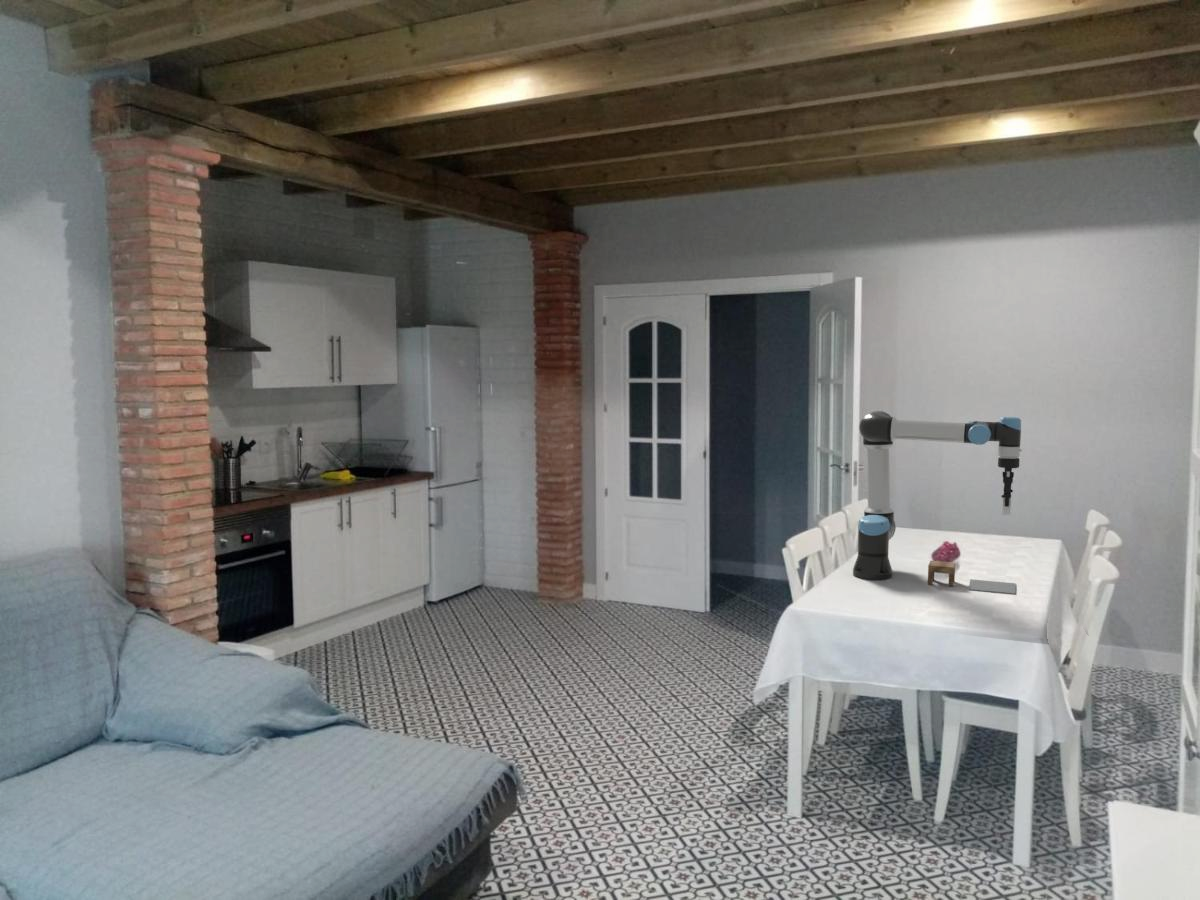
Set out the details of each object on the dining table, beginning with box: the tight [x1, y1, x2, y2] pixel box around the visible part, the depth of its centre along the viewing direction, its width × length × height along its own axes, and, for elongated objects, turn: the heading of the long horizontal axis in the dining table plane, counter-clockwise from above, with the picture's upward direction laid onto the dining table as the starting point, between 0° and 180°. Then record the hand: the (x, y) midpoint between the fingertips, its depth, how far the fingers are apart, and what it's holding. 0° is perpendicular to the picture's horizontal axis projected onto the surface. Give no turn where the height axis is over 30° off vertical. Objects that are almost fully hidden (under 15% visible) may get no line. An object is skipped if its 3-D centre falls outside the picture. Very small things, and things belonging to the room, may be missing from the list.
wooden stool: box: [927, 560, 956, 588], centre depth 351 cm, size 9×9×8 cm
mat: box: [968, 579, 1017, 595], centre depth 345 cm, size 16×16×1 cm
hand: (1006, 511), depth 354 cm, fingers open, 13 cm apart
